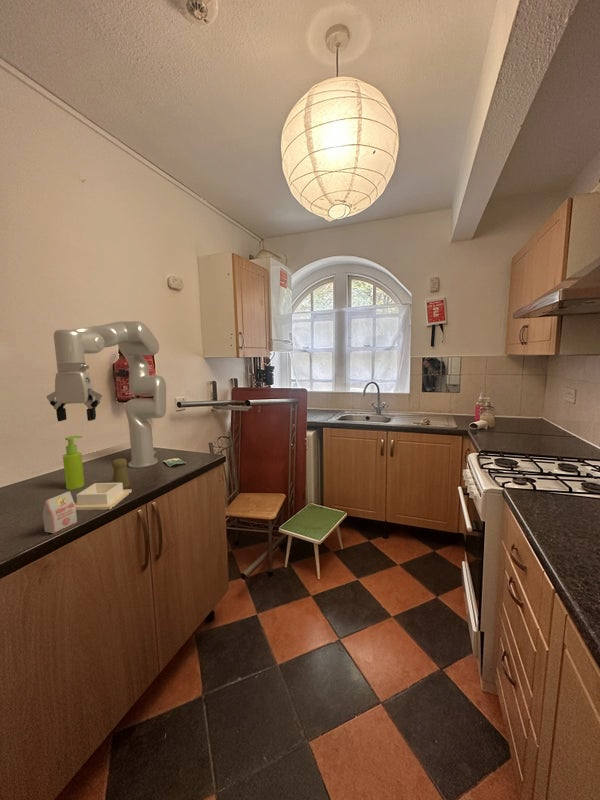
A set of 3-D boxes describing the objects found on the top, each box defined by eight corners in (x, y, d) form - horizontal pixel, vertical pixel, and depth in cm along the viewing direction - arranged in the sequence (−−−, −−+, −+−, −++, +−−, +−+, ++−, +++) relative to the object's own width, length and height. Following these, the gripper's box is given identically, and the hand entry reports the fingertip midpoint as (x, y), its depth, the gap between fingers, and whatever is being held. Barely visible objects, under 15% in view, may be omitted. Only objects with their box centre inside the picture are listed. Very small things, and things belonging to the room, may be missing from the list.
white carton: (44, 532, 90) (40, 499, 89) (68, 521, 97) (65, 490, 95) (53, 534, 89) (50, 501, 88) (77, 523, 95) (73, 491, 94)
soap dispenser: (90, 484, 126) (85, 435, 123) (72, 490, 120) (66, 439, 117) (81, 481, 128) (76, 434, 126) (63, 488, 122) (57, 438, 120)
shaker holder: (93, 492, 117) (92, 481, 117) (131, 491, 118) (130, 480, 117) (67, 510, 104) (66, 497, 103) (110, 509, 104) (108, 496, 103)
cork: (122, 489, 120) (119, 462, 119) (108, 488, 121) (106, 461, 120) (133, 483, 126) (131, 457, 125) (120, 482, 127) (118, 456, 126)
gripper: (105, 368, 106) (109, 417, 108) (53, 368, 105) (59, 418, 107) (91, 368, 98) (96, 422, 100) (35, 369, 98) (41, 423, 100)
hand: (77, 420), depth 104 cm, fingers open, 9 cm apart
